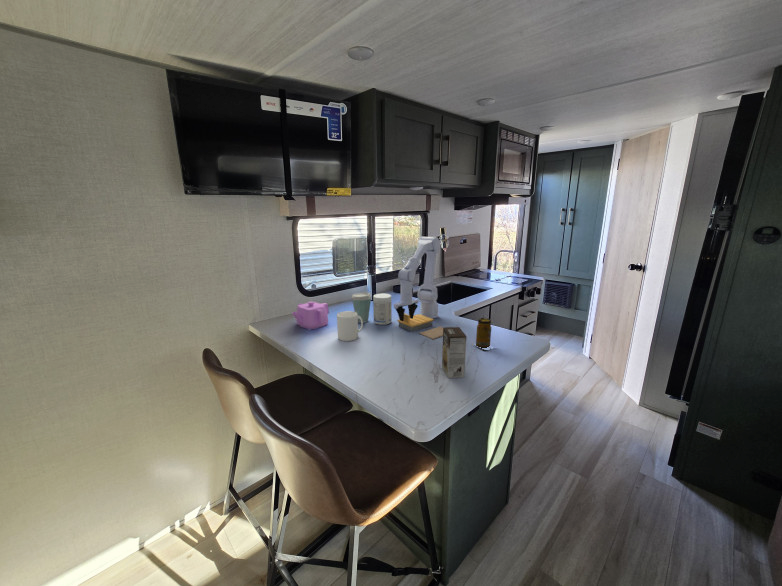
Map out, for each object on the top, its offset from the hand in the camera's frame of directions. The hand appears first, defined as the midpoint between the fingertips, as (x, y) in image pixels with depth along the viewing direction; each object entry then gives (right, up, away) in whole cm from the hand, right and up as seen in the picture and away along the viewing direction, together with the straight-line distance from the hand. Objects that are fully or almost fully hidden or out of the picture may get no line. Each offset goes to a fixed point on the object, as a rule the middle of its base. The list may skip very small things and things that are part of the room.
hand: (406, 319), depth 165 cm
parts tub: (+5, -4, +5) cm, 8 cm away
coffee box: (+15, -16, -43) cm, 48 cm away
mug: (-27, -8, -9) cm, 29 cm away
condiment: (+33, -10, -21) cm, 40 cm away
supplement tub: (-12, -3, +10) cm, 16 cm away
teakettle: (-50, -4, +8) cm, 50 cm away
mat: (+14, -6, -5) cm, 16 cm away
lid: (+5, -2, +4) cm, 7 cm away
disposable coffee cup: (-23, -2, +13) cm, 27 cm away
